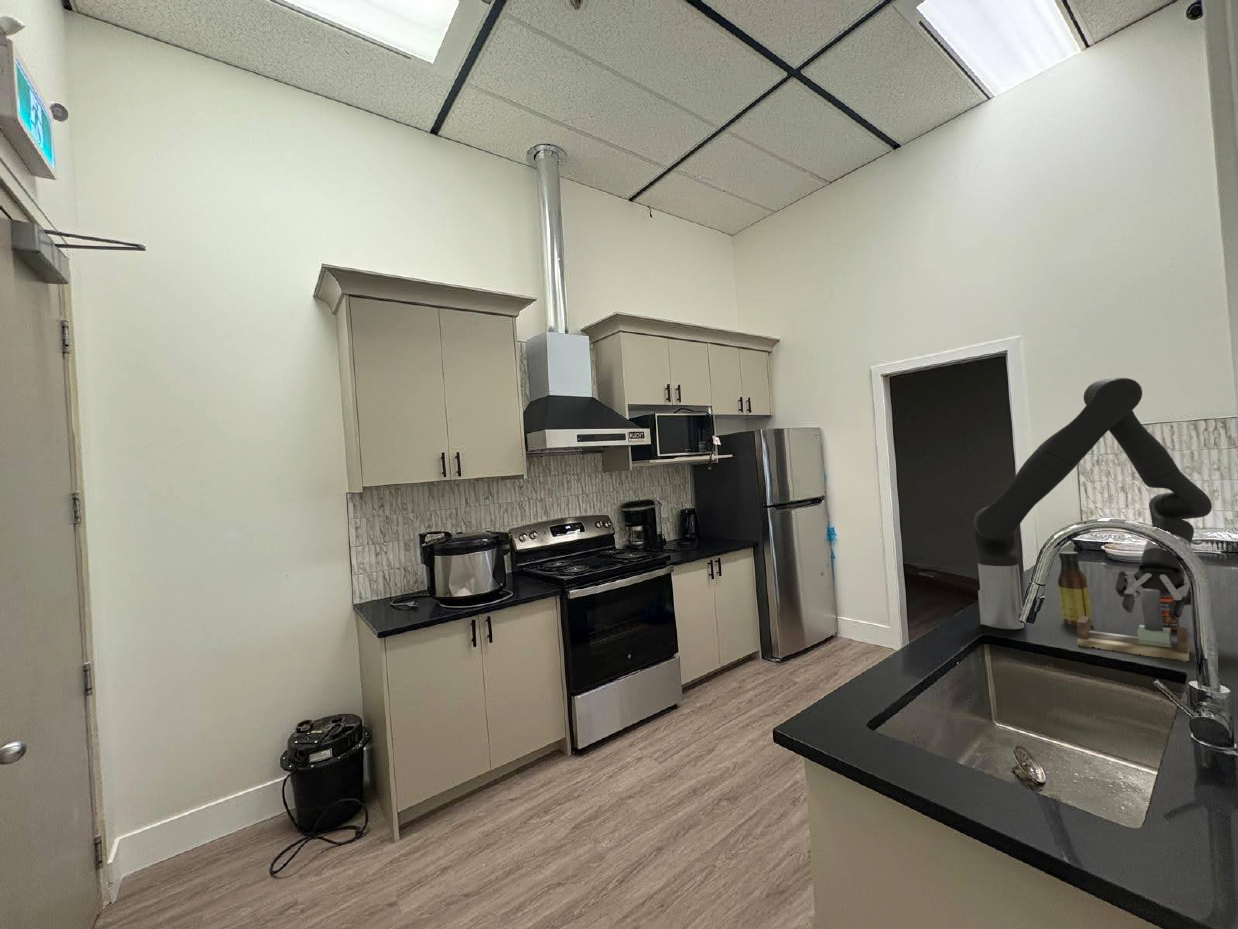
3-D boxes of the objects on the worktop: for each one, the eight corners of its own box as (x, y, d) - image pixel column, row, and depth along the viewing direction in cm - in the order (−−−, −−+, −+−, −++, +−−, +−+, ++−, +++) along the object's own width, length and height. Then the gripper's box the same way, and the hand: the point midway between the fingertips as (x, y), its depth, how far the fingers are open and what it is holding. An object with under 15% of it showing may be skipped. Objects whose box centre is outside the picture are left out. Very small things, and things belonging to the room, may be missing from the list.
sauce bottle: (1080, 621, 143) (1073, 550, 144) (1099, 627, 137) (1092, 552, 138) (1055, 621, 144) (1048, 551, 145) (1073, 628, 137) (1065, 554, 138)
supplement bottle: (1154, 630, 132) (1150, 586, 132) (1142, 624, 137) (1137, 582, 138) (1186, 631, 129) (1181, 587, 130) (1171, 625, 135) (1167, 582, 135)
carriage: (1138, 644, 117) (1133, 591, 118) (1141, 638, 121) (1135, 586, 122) (1170, 648, 113) (1164, 593, 114) (1171, 642, 117) (1166, 589, 118)
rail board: (1078, 645, 124) (1075, 622, 124) (1084, 637, 130) (1082, 615, 130) (1188, 661, 110) (1185, 636, 111) (1189, 651, 116) (1187, 627, 116)
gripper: (1119, 544, 128) (1102, 598, 122) (1203, 549, 115) (1189, 610, 109) (1131, 563, 130) (1114, 617, 124) (1215, 570, 117) (1201, 630, 111)
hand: (1149, 613), depth 117 cm, fingers open, 7 cm apart
